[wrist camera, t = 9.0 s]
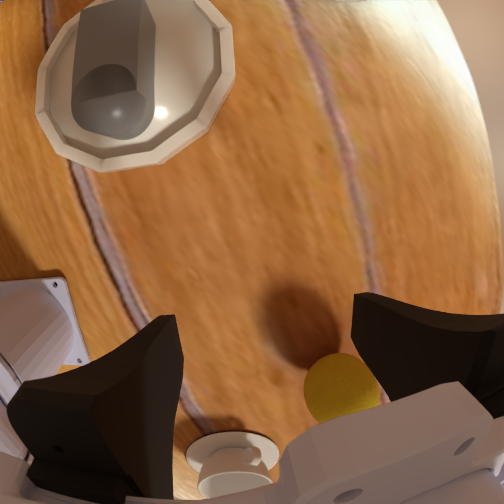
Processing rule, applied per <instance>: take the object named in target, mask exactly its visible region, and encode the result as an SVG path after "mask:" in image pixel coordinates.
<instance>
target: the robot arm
mask: <svg viewBox="0 0 504 504" xmlns="http://www.w3.org/2000/svg"><path fill="white" fill-rule="evenodd" d="M55 282H56V283H57V285H58V286H56V285H55ZM351 339H352V341H353V343H354V345H355V347H356V349H357V351H358V353H359V355H360V356H361V358H362V359H363V361H364V362H365V364H366V365H367V366H368V368H369V369H370V371H371V372H372V373H373V375H374V376H375V378H376V379H377V380H378V382H379V383H380V385H381V386H382V387H383V389H384V390H385V392H386V394H387V395H388V397H389V399H390V401H391V402H389V403H386V404H383V405H380V406H376V407H373V408H370V409H366V410H362V411H359V412H355V413H351V414H347V415H343V416H339V417H335V418H333V419H330V420H328V421H325V422H323V423H320V424H317V425H315V426H312V427H310V428H308V429H307V430H306V431H305V432H303V433H302V434H301V435H299V436H298V437H297V438H295V439H294V440H293V441H291V442H290V443H289V444H288V445H287V446H286V448H285V450H284V453H283V455H282V457H281V459H280V461H279V470H280V476H279V480H278V482H275V483H271V484H268V485H264V486H261V487H257V488H254V489H250V490H246V491H242V492H238V493H233V494H229V495H224V496H219V497H214V498H209V499H203V500H174V498H173V473H172V457H173V429H174V421H175V416H176V411H177V405H178V400H179V395H180V390H181V385H182V379H183V364H184V357H183V352H182V347H181V343H180V338H179V333H178V328H177V323H176V318H175V314H174V315H160V316H158V317H157V318H155V319H154V320H153V321H151V322H150V323H149V324H148V325H146V326H145V327H144V328H143V329H142V330H140V331H139V332H138V333H137V334H135V335H134V336H133V337H131V338H130V339H129V340H127V341H126V342H124V343H123V344H122V345H120V346H119V347H117V348H116V349H114V350H113V351H111V352H110V353H108V354H106V355H104V356H102V357H101V358H99V359H97V360H95V361H92V362H90V357H89V354H88V352H87V349H86V346H85V343H84V340H83V337H82V334H81V331H80V328H79V325H78V321H77V318H76V315H75V311H74V308H73V304H72V301H71V297H70V293H69V290H68V286H67V282H66V280H65V279H64V278H63V277H50V278H38V279H25V280H13V281H0V504H504V314H496V315H464V314H453V313H446V312H440V311H434V310H430V309H426V308H422V307H418V306H414V305H411V304H407V303H404V302H401V301H398V300H395V299H392V298H388V297H385V296H382V295H378V294H375V293H369V292H365V293H359V294H354V301H353V316H352V328H351ZM79 359H81V360H82V361H80V360H79ZM62 364H65V365H83V366H81V367H79V368H76V369H73V370H70V371H67V372H64V373H61V374H58V375H56V373H57V372H58V370H59V369H60V367H61V366H62Z"/></svg>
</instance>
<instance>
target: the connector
mask: <svg viewBox="0 0 504 504" xmlns="http://www.w3.org/2000/svg"><path fill="white" fill-rule="evenodd" d="M155 34H156V24H155V22H154V20H153V17H152V15H151V13H150V10H149V8H148V6H147V3H146V1H145V0H102V2H101V4H99V5H96V6H92V7H89V8H86V9H83V10H81V13H80V19H79V25H78V31H77V38H76V45H75V54H74V64H73V76H72V92H71V111H72V115H73V118H74V120H75V122H76V123H77V124H78V125H79V126H80V127H81V128H82V129H84V130H86V131H90V132H93V133H97V134H100V135H103V136H107V137H110V138H113V139H117V140H129V139H133V138H135V137H137V136H139V135H140V134H142V133H143V132H144V131H145V130H146V129H147V128H148V126H149V125H150V123H151V121H152V119H153V116H154V112H155V88H154V76H155Z"/></svg>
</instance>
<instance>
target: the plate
mask: <svg viewBox="0 0 504 504" xmlns="http://www.w3.org/2000/svg"><path fill="white" fill-rule="evenodd" d="M145 1H146V3H147V6H148V8H149V10H150V13H151V15H152V17H153V20H154V22H155V24H156V34H155V76H154V88H155V112H154V116H153V119H152V121H151V123H150V125H149V126H148V128H147V129H146V130H145V131H144V132H143V133H142V134H140V135H139V136H137V137H135V138H133V139H129V140H117V139H113V138H110V137H107V136H103V135H100V134H97V133H93V132H90V131H86V130H84V129H82V128H81V127H80V126H79V125H78V124H77V123H76V122H75V120H74V118H73V115H72V111H71V92H72V76H73V64H74V54H75V45H76V38H77V31H78V25H79V19H80V13H81V11H80V12H79V13H77V14H76V15H75V16H74V17H72V18H71V19H70V20H69V21H67V22H66V23H65V24H64V25H63V26H62V28H61V29H60V31H59V32H58V34H57V36H56V37H55V39H54V41H53V42H52V44H51V46H50V48H49V49H48V51H47V53H46V55H45V56H44V58H43V60H42V62H41V64H40V66H39V69H38V74H37V86H36V103H35V116H36V118H37V120H38V122H39V124H40V125H41V127H42V129H43V131H44V133H45V134H46V136H47V138H48V140H49V142H50V143H51V145H52V147H53V149H54V150H55V152H56V154H58V155H61V156H63V157H65V158H68V159H70V160H72V161H74V162H77V163H79V164H81V165H84V166H86V167H88V168H91V169H93V170H95V171H97V172H100V173H103V172H116V171H122V170H128V169H134V168H140V167H147V166H154V165H161V164H163V163H165V162H166V161H167V160H169V159H170V158H171V157H173V156H174V155H176V154H177V153H178V152H180V151H181V150H182V149H184V148H185V147H187V146H188V145H190V144H191V143H192V142H194V141H195V140H197V139H198V138H200V137H201V136H203V135H204V134H205V133H207V132H208V131H209V130H210V128H211V126H212V124H213V122H214V120H215V118H216V116H217V114H218V112H219V110H220V109H221V107H222V105H223V103H224V101H225V99H226V98H227V96H228V94H229V92H230V90H231V88H232V87H233V85H234V80H235V62H234V48H233V33H232V25H231V24H230V23H229V22H228V21H227V20H226V19H225V17H224V16H223V15H222V14H221V13H220V12H219V11H218V10H217V9H216V7H215V6H214V5H213V4H212V3H211V2H210V1H209V0H145ZM101 2H102V0H95V1H94V2H92V3H91V4H89V5H88V6H87V7H85V8H84V9H86V8H89V7H92V6H96V5H99V4H101Z"/></svg>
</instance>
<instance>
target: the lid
mask: <svg viewBox="0 0 504 504" xmlns="http://www.w3.org/2000/svg"><path fill="white" fill-rule="evenodd" d="M335 1H343V2H360V1H367V0H335Z"/></svg>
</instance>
